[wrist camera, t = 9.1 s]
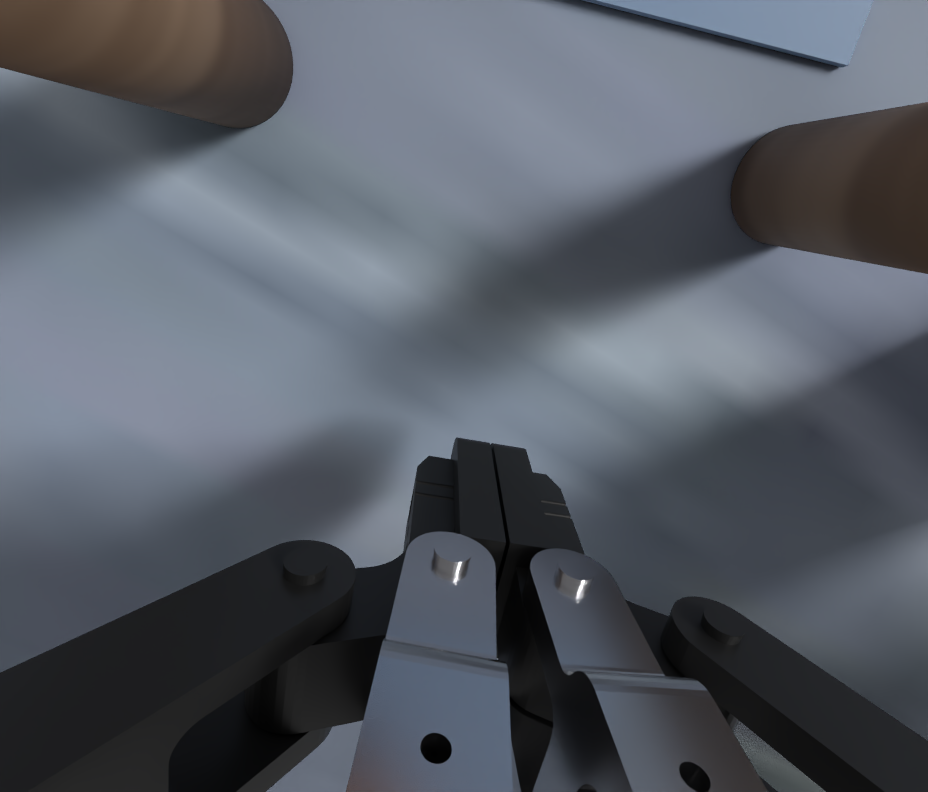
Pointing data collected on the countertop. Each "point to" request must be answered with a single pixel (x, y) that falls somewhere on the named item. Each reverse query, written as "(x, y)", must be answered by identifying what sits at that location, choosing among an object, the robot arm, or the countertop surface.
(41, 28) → the post
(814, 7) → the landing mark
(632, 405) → the countertop surface
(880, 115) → the post
